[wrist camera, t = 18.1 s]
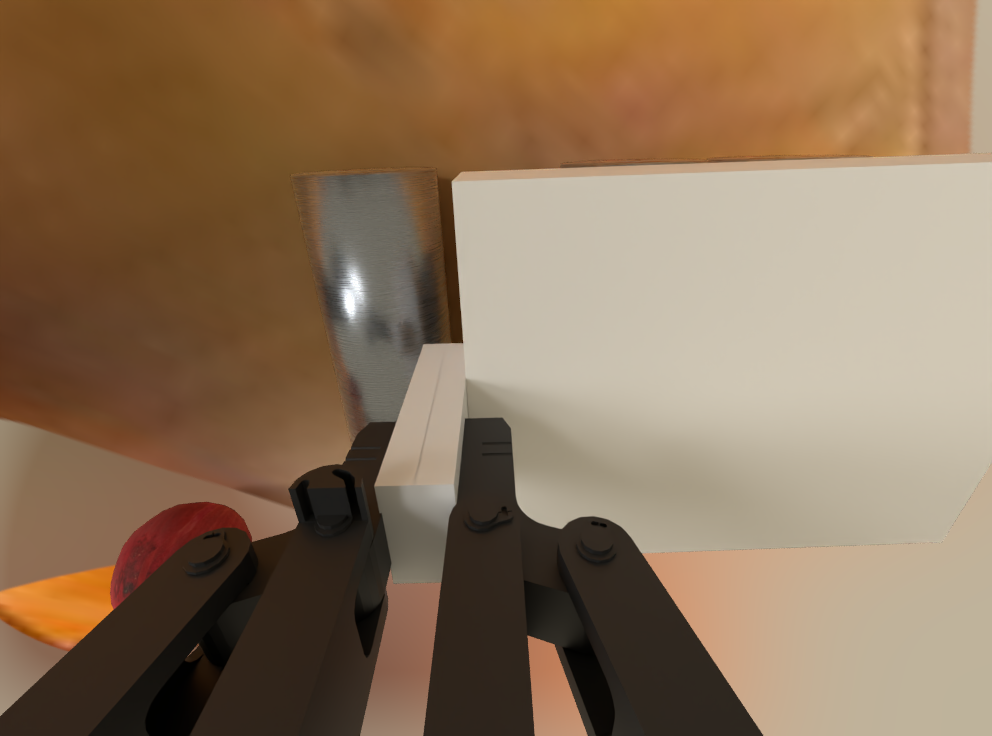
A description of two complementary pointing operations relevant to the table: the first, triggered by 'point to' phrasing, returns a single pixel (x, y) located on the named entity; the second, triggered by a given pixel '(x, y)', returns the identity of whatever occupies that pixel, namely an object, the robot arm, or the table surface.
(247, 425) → the table surface
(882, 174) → the slab
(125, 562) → the onion
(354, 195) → the cylinder
